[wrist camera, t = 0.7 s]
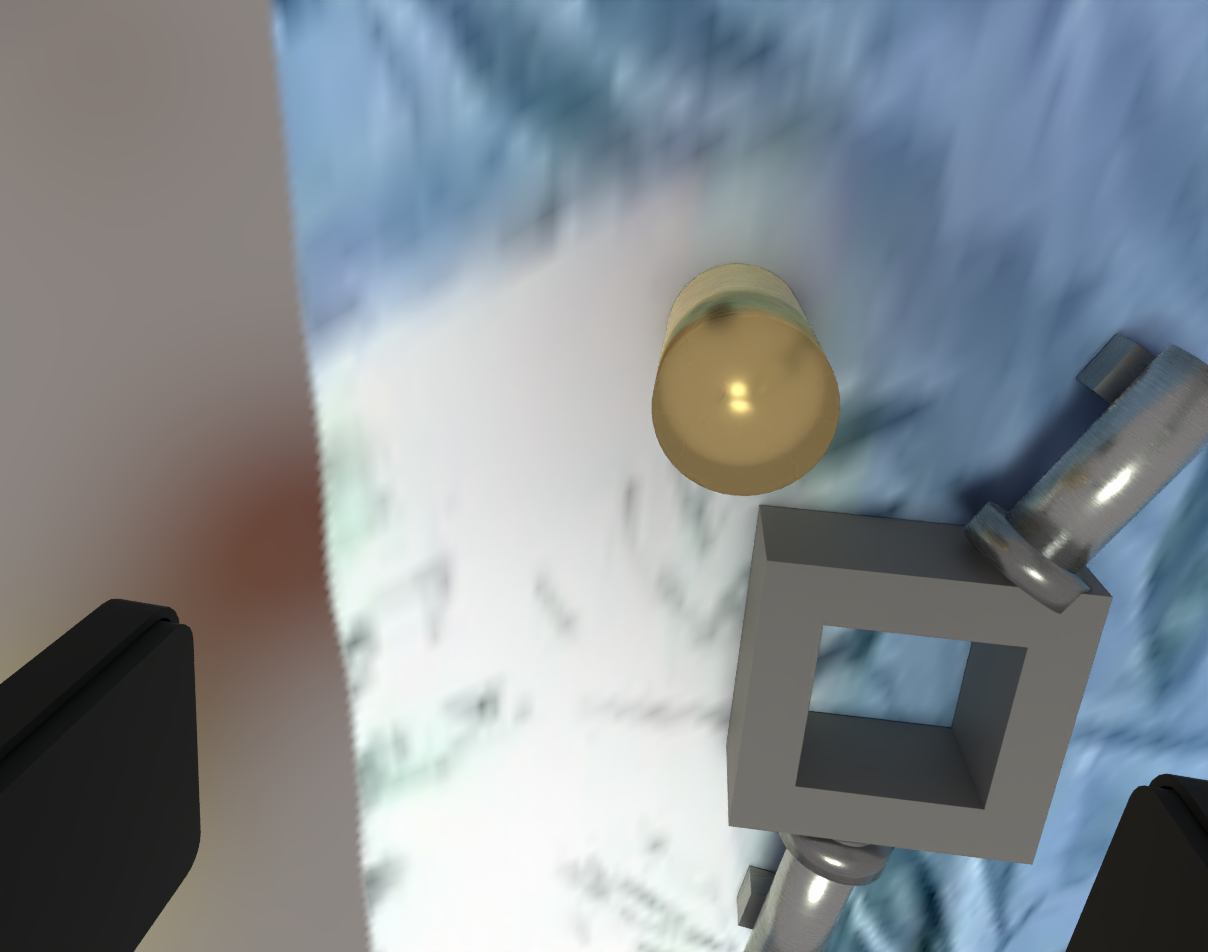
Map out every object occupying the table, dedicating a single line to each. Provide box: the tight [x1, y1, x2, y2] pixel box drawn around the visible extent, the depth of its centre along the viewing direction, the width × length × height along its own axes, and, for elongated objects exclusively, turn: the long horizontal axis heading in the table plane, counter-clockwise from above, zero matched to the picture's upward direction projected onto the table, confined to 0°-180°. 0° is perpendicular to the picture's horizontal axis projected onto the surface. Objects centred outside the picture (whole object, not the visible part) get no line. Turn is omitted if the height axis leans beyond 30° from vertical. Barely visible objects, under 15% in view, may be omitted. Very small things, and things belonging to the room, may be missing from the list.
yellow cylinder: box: [652, 264, 840, 496], centre depth 23 cm, size 4×4×8 cm
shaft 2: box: [963, 334, 1208, 614], centre depth 25 cm, size 7×4×4 cm, turn 146°
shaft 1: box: [737, 832, 894, 952], centre depth 31 cm, size 7×4×4 cm, turn 166°
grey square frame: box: [726, 505, 1113, 865], centre depth 28 cm, size 9×9×4 cm
